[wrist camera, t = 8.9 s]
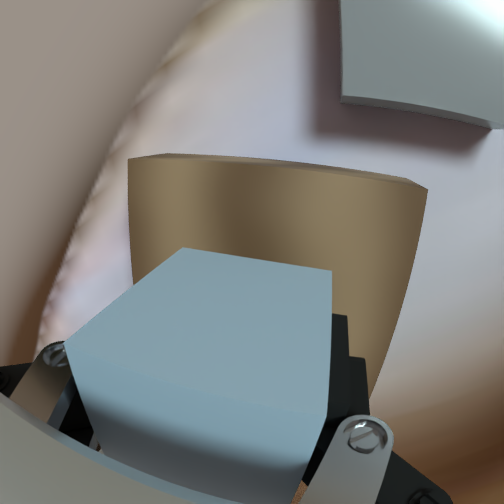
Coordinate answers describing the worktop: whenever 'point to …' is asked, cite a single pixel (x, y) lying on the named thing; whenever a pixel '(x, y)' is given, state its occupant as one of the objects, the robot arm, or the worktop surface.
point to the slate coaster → (425, 57)
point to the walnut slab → (287, 228)
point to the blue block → (211, 374)
